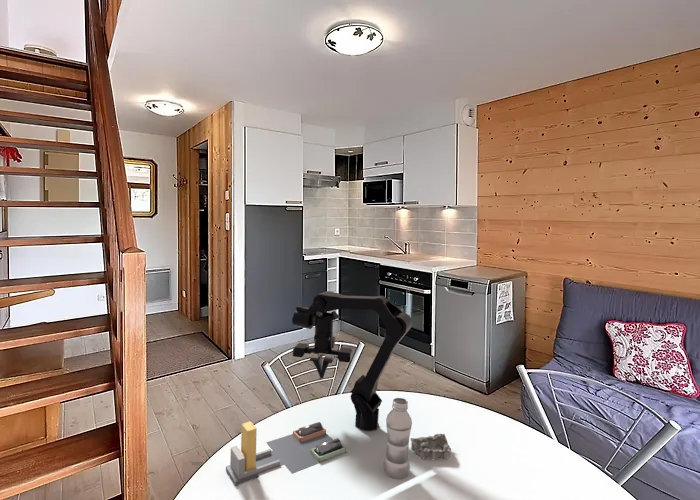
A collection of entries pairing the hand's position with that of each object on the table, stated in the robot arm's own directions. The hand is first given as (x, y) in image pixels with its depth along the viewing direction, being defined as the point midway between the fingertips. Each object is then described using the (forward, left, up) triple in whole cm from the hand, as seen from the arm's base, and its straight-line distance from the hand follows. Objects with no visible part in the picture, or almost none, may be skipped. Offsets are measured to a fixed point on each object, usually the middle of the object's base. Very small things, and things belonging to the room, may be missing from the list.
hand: (321, 377), depth 130 cm
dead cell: (0, +13, -12) cm, 17 cm away
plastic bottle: (-26, +24, -13) cm, 38 cm away
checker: (+4, +24, -13) cm, 28 cm away
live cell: (-7, +20, -12) cm, 25 cm away
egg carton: (-35, +12, -14) cm, 39 cm away
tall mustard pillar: (+11, +31, -12) cm, 35 cm away
